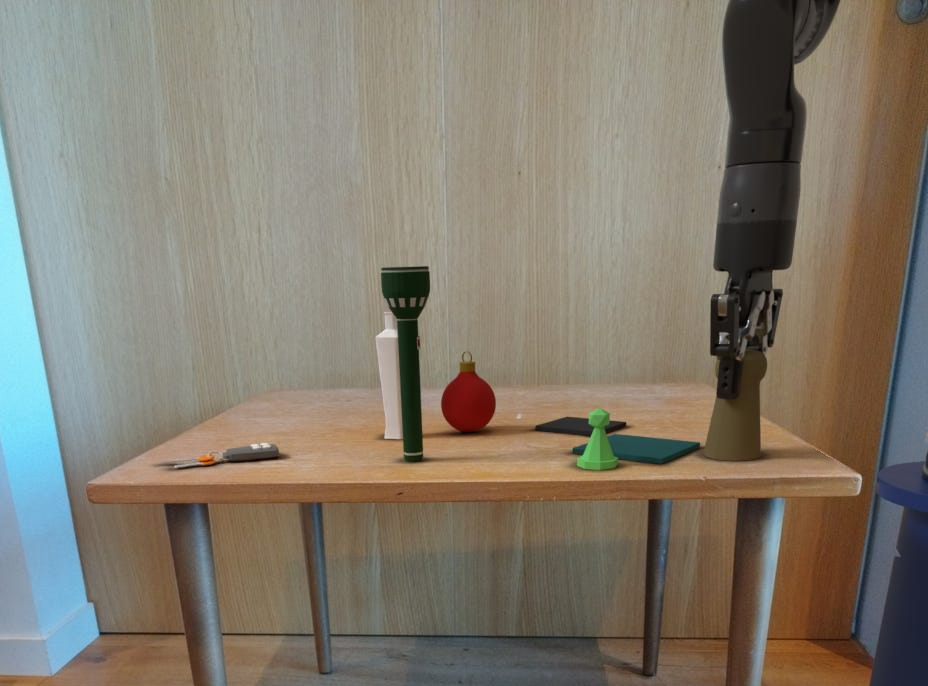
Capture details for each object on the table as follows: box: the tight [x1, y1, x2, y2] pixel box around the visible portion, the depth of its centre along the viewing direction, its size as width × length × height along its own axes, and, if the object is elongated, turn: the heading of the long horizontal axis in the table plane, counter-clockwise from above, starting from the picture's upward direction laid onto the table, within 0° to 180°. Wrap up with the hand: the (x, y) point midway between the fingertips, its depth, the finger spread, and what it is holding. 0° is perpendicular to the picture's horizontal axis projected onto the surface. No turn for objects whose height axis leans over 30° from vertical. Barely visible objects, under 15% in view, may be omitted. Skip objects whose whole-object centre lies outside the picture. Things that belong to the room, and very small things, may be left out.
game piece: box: [576, 407, 619, 471], centre depth 89 cm, size 4×4×6 cm
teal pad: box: [571, 433, 701, 465], centre depth 97 cm, size 11×10×1 cm
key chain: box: [162, 442, 280, 469], centre depth 98 cm, size 13×4×2 cm, turn 111°
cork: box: [702, 349, 768, 462], centre depth 91 cm, size 6×6×11 cm
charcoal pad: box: [534, 416, 627, 437], centre depth 110 cm, size 9×8×1 cm
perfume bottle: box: [374, 311, 403, 440], centre depth 106 cm, size 5×4×15 cm
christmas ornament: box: [440, 350, 497, 433], centre depth 109 cm, size 7×7×10 cm
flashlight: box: [380, 265, 431, 463], centre depth 92 cm, size 5×5×20 cm
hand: (738, 394), depth 90 cm, fingers closed on cork, 5 cm apart
